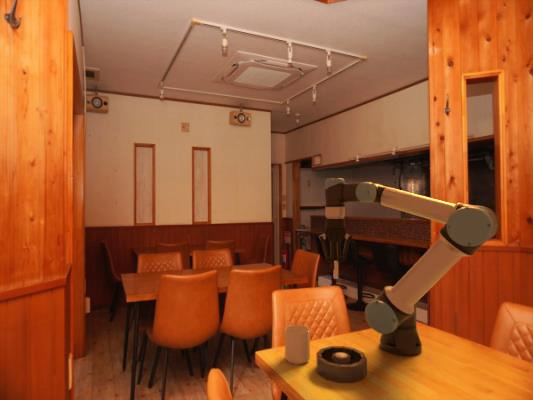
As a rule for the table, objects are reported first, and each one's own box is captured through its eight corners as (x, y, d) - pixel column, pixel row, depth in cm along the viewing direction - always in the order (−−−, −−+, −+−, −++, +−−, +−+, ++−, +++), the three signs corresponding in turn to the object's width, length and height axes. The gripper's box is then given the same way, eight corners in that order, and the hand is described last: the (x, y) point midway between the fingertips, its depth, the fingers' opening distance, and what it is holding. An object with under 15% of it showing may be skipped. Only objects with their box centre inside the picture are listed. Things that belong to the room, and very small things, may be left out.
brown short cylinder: (348, 366, 124) (348, 351, 124) (352, 375, 118) (352, 358, 118) (330, 366, 124) (330, 351, 124) (333, 375, 118) (333, 358, 118)
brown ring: (359, 360, 129) (359, 345, 129) (371, 382, 113) (371, 366, 113) (314, 360, 129) (314, 345, 129) (320, 382, 113) (320, 366, 114)
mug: (310, 365, 125) (310, 333, 125) (284, 365, 126) (284, 333, 126) (309, 351, 137) (308, 321, 137) (285, 350, 138) (285, 321, 138)
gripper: (349, 217, 146) (350, 276, 146) (317, 217, 146) (318, 276, 146) (353, 218, 138) (354, 280, 138) (319, 218, 139) (320, 280, 139)
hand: (335, 278), depth 142 cm, fingers closed
